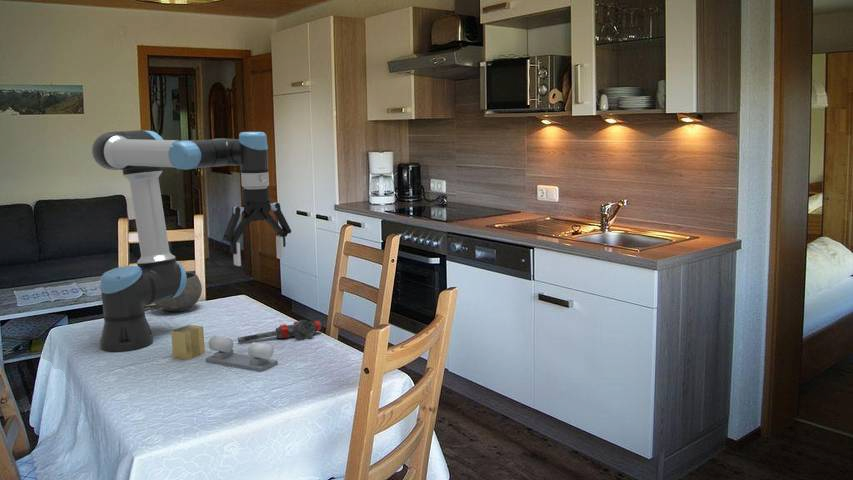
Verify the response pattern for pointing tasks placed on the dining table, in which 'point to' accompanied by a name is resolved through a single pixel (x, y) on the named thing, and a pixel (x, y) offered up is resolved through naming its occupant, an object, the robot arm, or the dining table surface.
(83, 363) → the dining table surface
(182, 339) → the cardboard box
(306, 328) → the valve
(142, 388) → the dining table surface
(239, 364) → the shaft bed
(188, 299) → the bowl
